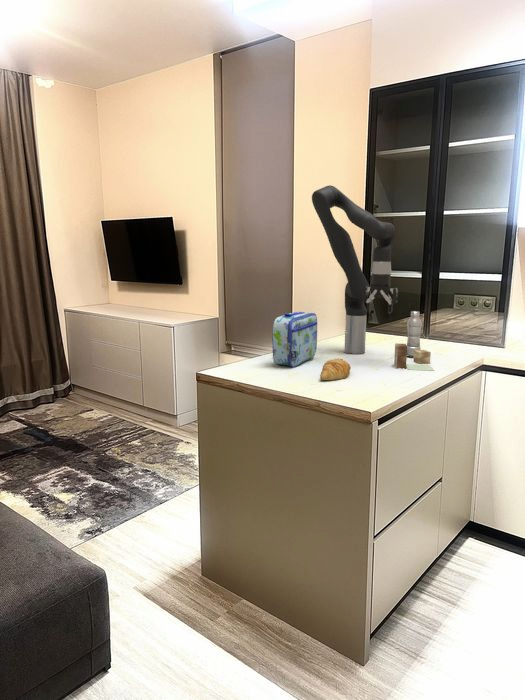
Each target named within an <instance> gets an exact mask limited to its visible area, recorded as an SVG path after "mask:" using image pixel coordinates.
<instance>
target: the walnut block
mask: <svg viewBox="0 0 525 700" xmlns="http://www.w3.org/2000/svg"><path fill="white" fill-rule="evenodd" d="M407 357H408V356H407V343H395V344H394V359H393V360H394V361H393V366H394V368H395V369H398V368H401V369H402V370H405V369H407V367H406V364H407V360H408V358H407ZM403 368H404V369H403Z"/></svg>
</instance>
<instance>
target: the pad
mask: <svg viewBox="0 0 525 700" xmlns="http://www.w3.org/2000/svg"><path fill="white" fill-rule="evenodd" d="M406 369H407V371H429V372H431V371H435V369H434V367H433V366H431V364H417V363H415V364H414V363H406Z"/></svg>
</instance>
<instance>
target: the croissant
mask: <svg viewBox="0 0 525 700" xmlns="http://www.w3.org/2000/svg"><path fill="white" fill-rule="evenodd" d="M351 369H352V367H351V364H350V363H348V362H347V361H346V360H344V358H339V357H338V358H333V359H329V360H327V361H326V362H324V364H323V365H322V369H321V371H320V374H319V378H320V380H321V381H336V380H342V379H343V380H344V379H345V378H347V377H348V375H349V373H350V371H351Z"/></svg>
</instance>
